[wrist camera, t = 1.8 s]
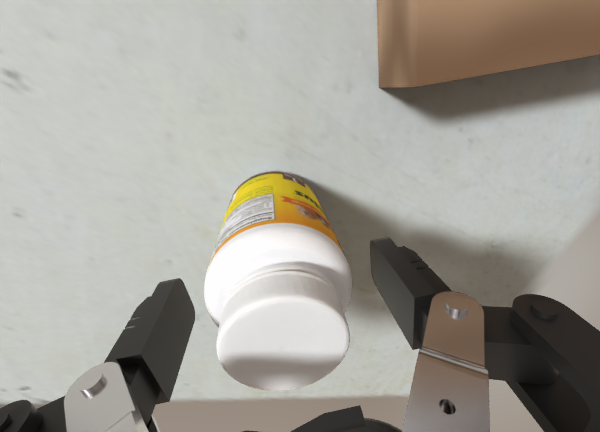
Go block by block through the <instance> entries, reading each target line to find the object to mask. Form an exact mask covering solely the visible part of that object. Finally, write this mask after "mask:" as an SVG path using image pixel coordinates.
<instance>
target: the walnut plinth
mask: <svg viewBox="0 0 600 432" xmlns="http://www.w3.org/2000/svg"><path fill="white" fill-rule="evenodd" d="M377 15H378V59H379V88H387V87H419V86H424V85H430V84H436V83H441V82H447V81H453V80H458V79H464V78H470V77H475V76H481V75H487V74H492V73H498V72H504V71H509V70H515V69H521V68H526V67H532V66H538V65H543V64H549V63H555V62H560V61H566V60H572V59H577V58H583V57H589V56H594V55H600V0H377Z"/></svg>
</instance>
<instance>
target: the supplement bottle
mask: <svg viewBox="0 0 600 432" xmlns="http://www.w3.org/2000/svg"><path fill="white" fill-rule="evenodd" d="M351 295H352V274H351V270H350V267H349V264H348V261H347V259H346V256H345V254H344V252H343V250H342V248H341V246H340V244H339V242H338V240H337V238H336V236H335V234H334V232H333V229H332V228H331V226H330V224H329V222H328V220H327V218H326V216H325V214H324V212H323V210H322V208H321V206H320V204H319V202H318V199H317V198H316V196H315V194H314V192H313V191H312V189H311V188H310V187H309V186H308V185H307V184H306V183H305V182H304V181H303V180H302V179H300V178H299V177H297V176H295V175H293V174H290V173H287V172H283V171H266V172H261V173H258V174H255V175H253V176H251V177H249V178H248V179H246V180H245V181H244V182H243V183H242V184H241V185H240V186H239V187H238V188H237V189H236V191H235V192H234V194H233V196H232V198H231V200H230V203H229V206H228V209H227V212H226V215H225V218H224V221H223V224H222V227H221V230H220V233H219V236H218V240H217V243H216V246H215V249H214V252H213V254H212V258H211V261H210V264H209V267H208V270H207V274H206V278H205V284H204V297H205V303H206V306H207V309H208V312H209V314H210V316H211V318H212V319H213V321H214V322H215V324H216V325H217V326H218V327H219V332H218V337H217V355H218V358H219V361H220V363H221V365H222V367H223V368H224V370H225V371H226V372H227V373H228V374H229V375H230V376H231V377H233V378H234V379H235V380H237V381H238V382H240V383H242V384H245V385H247V386H250V387H253V388H257V389H262V390H273V391H280V390H290V389H295V388H300V387H303V386H306V385H309V384H312V383H314V382H316V381H318V380H320V379H322V378H323V377H325V376H326V375H328V374H329V373H330V372H332V371H333V370H334V369H335V368H336V367H337V366H338V365H339V364H340V362H341V361H342V360H343V358H344V356H345V354H346V352H347V350H348V347H349V342H350V334H349V328H348V324H347V321H346V318H345V315H344V313H345V311H346V309H347V307H348V305H349V302H350V299H351Z"/></svg>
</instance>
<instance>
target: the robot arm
mask: <svg viewBox="0 0 600 432" xmlns="http://www.w3.org/2000/svg"><path fill="white" fill-rule="evenodd" d="M370 256H371V272H372V277H373V280H374V283H375V285H376V287H377V289H378V290H379V292H380V294H381V296H382V297H383V299H384V301H385V303H386V304H387V306H388V308H389V309H390V311H391V313H392V315H393V316H394V318H395V320H396V322H397V323H398V325H399V327H400V329H401V330H402V332H403V334H404V336H405V337H406V339H407V341H408V343H409V344H410V346H411V348H412V350H414V349H419V348H420V350H419V353H418V358H417V363H416V367H415V372H414V377H413V382H412V386H411V391H410V396H409V401H408V405H407V410H406V415H405V420H404V424H403V429H402V430H400V429H398V428H396V427H394V426H392V425H391V424H388V423H385V422H382V421H379V420H375V419H369V418H364V417H363V413H362V410H361V407H360V406H355V407H351V408H347V409H342V410H338V411H333V412H328V413H324V414H322V415H320V416H319V417H317V418H315V419H313V420H311V421H309V422H307V423H306V424H304V425H302V426H300V427H298V428H296V429H295V430H293V431H291V432H490V412H489V379H494V380H503V381H506V382H507V384H508V385H509V386H510V388H511V389H512V390H513V392H514V393H515V394H516V395H517V397H518V398H519V399H520V401H521V402H522V403H523V405H524V406H525V407H526V408H527V410H528V411H529V412H530V414H531V415H532V416H533V418H534V419H535V420H536V422H537V423H538V424H539V425H540V427H541V428H542V429H543V431H544V432H600V331H599V330H597V329H596V328H595V327H593V326H592V325H591V324H589V323H588V322H587V321H585V320H584V319H583V318H581V317H580V316H579V315H577V314H576V313H575V312H574V311H572V310H571V309H570V308H568V307H567V306H565V305H564V304H562V303H560V302H558V301H556V300H554V299H551V298H548V297H545V296H541V295H534V294H526V295H521V296H518V297H517V298H515V299H514V301H513V305H512V308H508V307H487V306H481V305H480V304H479V303H478V302H477V301H476V300H474V299H473V298H471V297H469V296H467V295H465V294H462V293H458V292H452V291H451V290H450V289H449V287H448V286H447V285H446V284H445V283H444V282H443V281H442V280H441V279H440V278H439V277H438V276H437V275H436V274H435V273H434V272H433V271H432V269H431V268H429V267H428V265H427V264H426V263H425V262H424V261H422V259H421V258H420V257H419V256H418V255H417V254H416V253H415V252H414V251H412V250H410V249H408V248H406V247H404V246H403V247H397V246H396V245H395V243H394V242H393V241H392V240H391V239H390V238H389V237H387V238H382V239H377V240H372V241H371V242H370ZM194 321H195V310H194V306H193V304H192V301H191V299H190V297H189V294H188V292H187V290H186V287H185V285H184V283H183V281H182V280H181V279H180V278H178V279H173V280H168V281H163V282H160V283H159V284H158V285H157V287H156V289H155V291H154V293H153V294H152V296H151V297H147V298H146V299H145V300H144V301H143V302H142V303H141V304H140V305H139V306H138V307H137V309H136V310H135V312H134V313H133V315H132V317H131V320H129V322H128V323H127V325H126V327H125V330H123V332H122V333H121V335H120V337H119V338H118V340H117V342H116V343H115V345H114V347H113V348H112V350H111V352H110V353H109V355H108V357H107V358H106V360H105V362H104V363H102V364H100V365H97V366H95V367H93V368H92V369H90V370H88V371H87V372H85V373H84V374H83V375H82V376H80V377H79V378H78V379H77V380H76V381H75V382H74V383H73V385H72V386H71V387H70V388H69V390H68V392H67V393H66V396H64V397H61V398H59V399H57V400H55V401H53V402H51V403H49V404H46V405H44V406H42V407H40V408H38V409H36V408H35V407H34V406H33V405H32V404H31V403H30V402H29V401H27V400H20V401H16V402H13V403H10V404H8V405H6V406H4V407H2V408H1V409H0V432H160V430H159V427H158V425H157V423H156V420H155V418H154V416H153V415H152V413H153V409H154V407H155V405H156V404H160V403H165V402H169V401H170V398H171V395H172V392H173V388H174V385H175V382H176V379H177V376H178V372H179V369H180V366H181V363H182V360H183V356H184V353H185V350H186V347H187V344H188V340H189V337H190V334H191V331H192V328H193V324H194ZM243 432H257V431H243Z"/></svg>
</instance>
